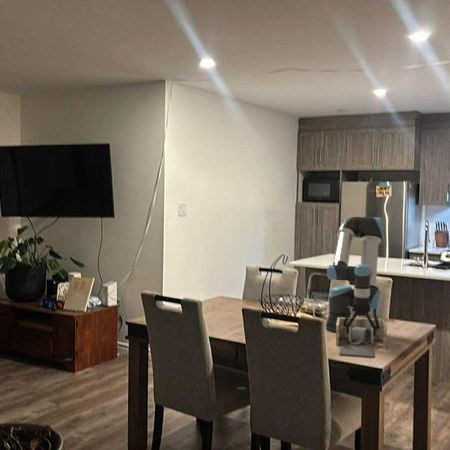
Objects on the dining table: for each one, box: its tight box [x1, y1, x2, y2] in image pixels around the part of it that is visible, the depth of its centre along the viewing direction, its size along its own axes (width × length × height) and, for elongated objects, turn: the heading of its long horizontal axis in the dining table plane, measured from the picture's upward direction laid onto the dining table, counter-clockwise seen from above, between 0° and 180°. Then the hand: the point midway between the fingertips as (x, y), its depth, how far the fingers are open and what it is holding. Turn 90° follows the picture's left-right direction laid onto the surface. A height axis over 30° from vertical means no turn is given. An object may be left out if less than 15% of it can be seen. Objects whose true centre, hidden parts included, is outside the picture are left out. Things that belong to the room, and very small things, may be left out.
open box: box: [335, 317, 388, 350], centre depth 278 cm, size 23×17×10 cm
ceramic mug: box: [349, 327, 371, 346], centre depth 277 cm, size 11×8×8 cm
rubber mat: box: [339, 345, 375, 359], centre depth 261 cm, size 15×13×1 cm
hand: (360, 341), depth 278 cm, fingers closed on ceramic mug, 10 cm apart
